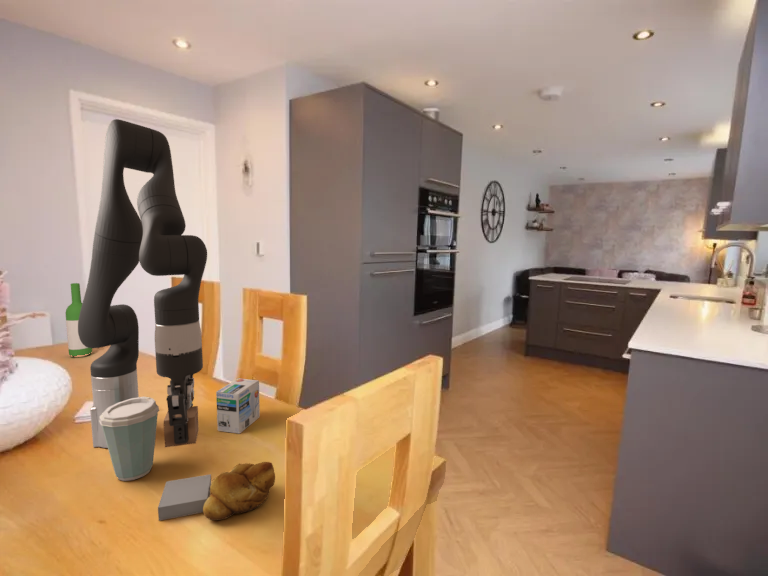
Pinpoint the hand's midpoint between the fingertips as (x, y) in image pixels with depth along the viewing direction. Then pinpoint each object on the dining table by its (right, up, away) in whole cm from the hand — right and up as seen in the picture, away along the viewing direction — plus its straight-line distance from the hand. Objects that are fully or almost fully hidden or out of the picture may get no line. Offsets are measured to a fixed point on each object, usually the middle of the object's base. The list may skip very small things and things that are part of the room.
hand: (183, 434), depth 74 cm
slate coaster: (0, -13, +2) cm, 13 cm away
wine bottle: (-88, -1, +91) cm, 127 cm away
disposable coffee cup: (-16, -12, +11) cm, 23 cm away
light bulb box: (-2, -10, +34) cm, 35 cm away
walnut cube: (0, -1, 0) cm, 1 cm away
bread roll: (+10, -14, +1) cm, 17 cm away
